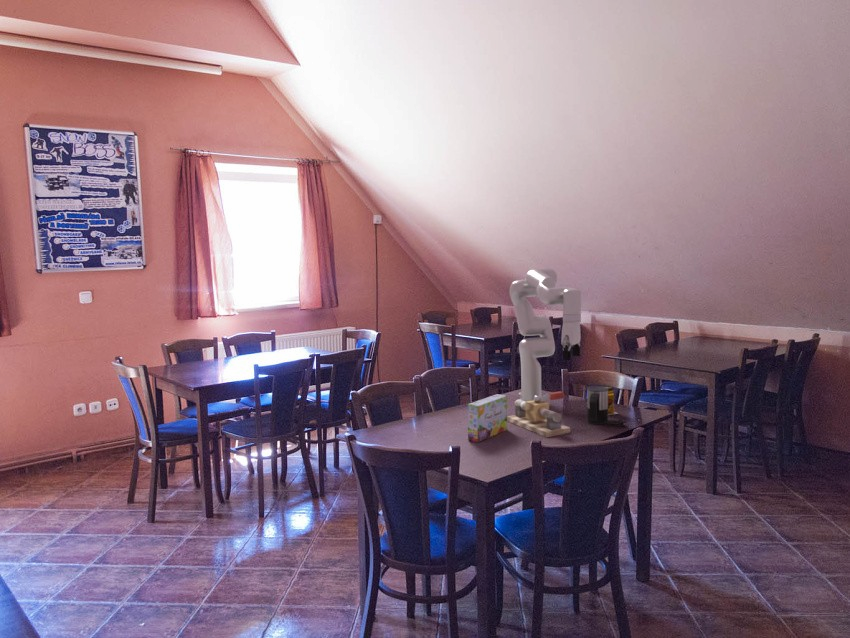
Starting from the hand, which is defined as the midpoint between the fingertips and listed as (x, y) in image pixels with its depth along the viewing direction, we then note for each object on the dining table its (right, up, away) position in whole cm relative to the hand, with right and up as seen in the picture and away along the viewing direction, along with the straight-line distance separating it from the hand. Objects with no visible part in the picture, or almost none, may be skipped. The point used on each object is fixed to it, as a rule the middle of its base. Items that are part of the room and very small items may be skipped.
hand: (571, 357), depth 272 cm
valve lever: (-10, -18, 0) cm, 20 cm away
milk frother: (+15, -28, 0) cm, 32 cm away
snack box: (-37, -31, -11) cm, 49 cm away
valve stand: (-15, -29, -2) cm, 33 cm away
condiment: (+19, -26, +17) cm, 37 cm away
